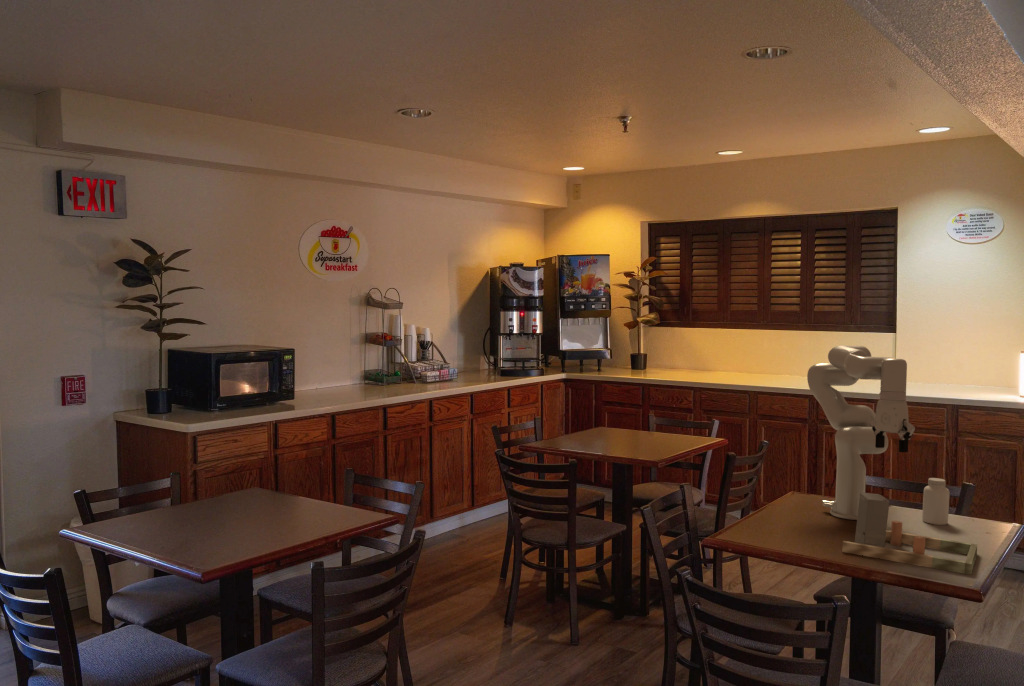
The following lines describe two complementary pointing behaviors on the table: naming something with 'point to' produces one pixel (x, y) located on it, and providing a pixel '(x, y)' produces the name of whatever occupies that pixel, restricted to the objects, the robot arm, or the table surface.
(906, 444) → the robot arm
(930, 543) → the lane
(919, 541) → the post
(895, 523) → the post
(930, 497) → the pill bottle
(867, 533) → the skincare box
